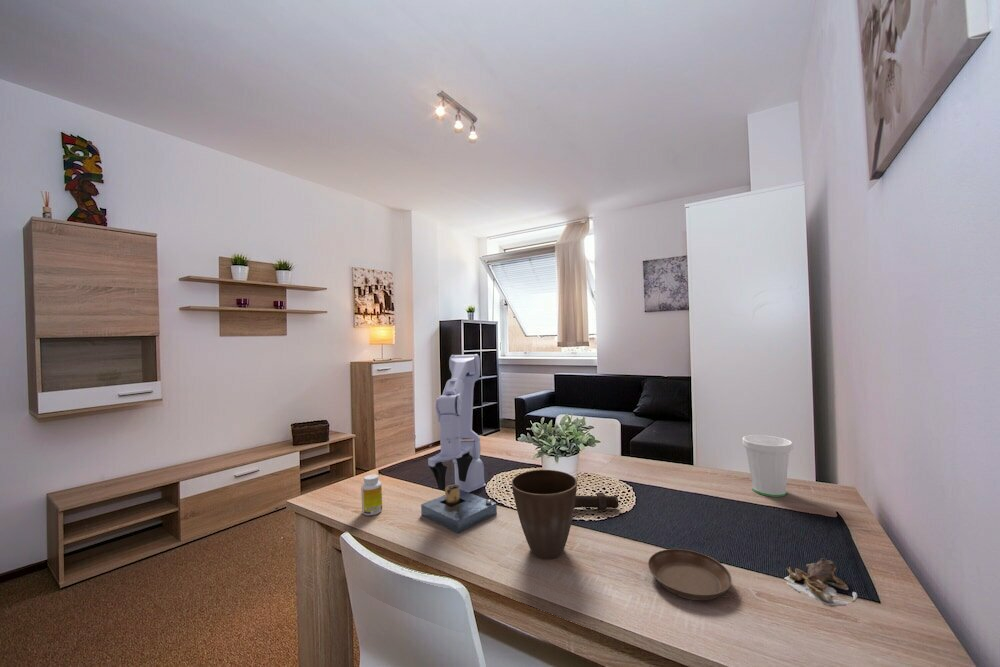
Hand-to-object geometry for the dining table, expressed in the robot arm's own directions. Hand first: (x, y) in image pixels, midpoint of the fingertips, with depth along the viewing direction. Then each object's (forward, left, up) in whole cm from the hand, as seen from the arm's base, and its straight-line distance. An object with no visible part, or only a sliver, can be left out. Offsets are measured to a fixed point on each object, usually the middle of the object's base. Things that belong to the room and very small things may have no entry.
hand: (452, 484), depth 113 cm
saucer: (-10, +61, -8) cm, 62 cm away
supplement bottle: (+15, -18, -8) cm, 25 cm away
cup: (-69, +64, -8) cm, 94 cm away
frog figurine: (-25, +79, -8) cm, 83 cm away
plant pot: (-1, +33, -8) cm, 34 cm away
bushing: (0, 0, -8) cm, 8 cm away
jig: (0, +3, -8) cm, 8 cm away
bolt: (-26, +29, -8) cm, 40 cm away
